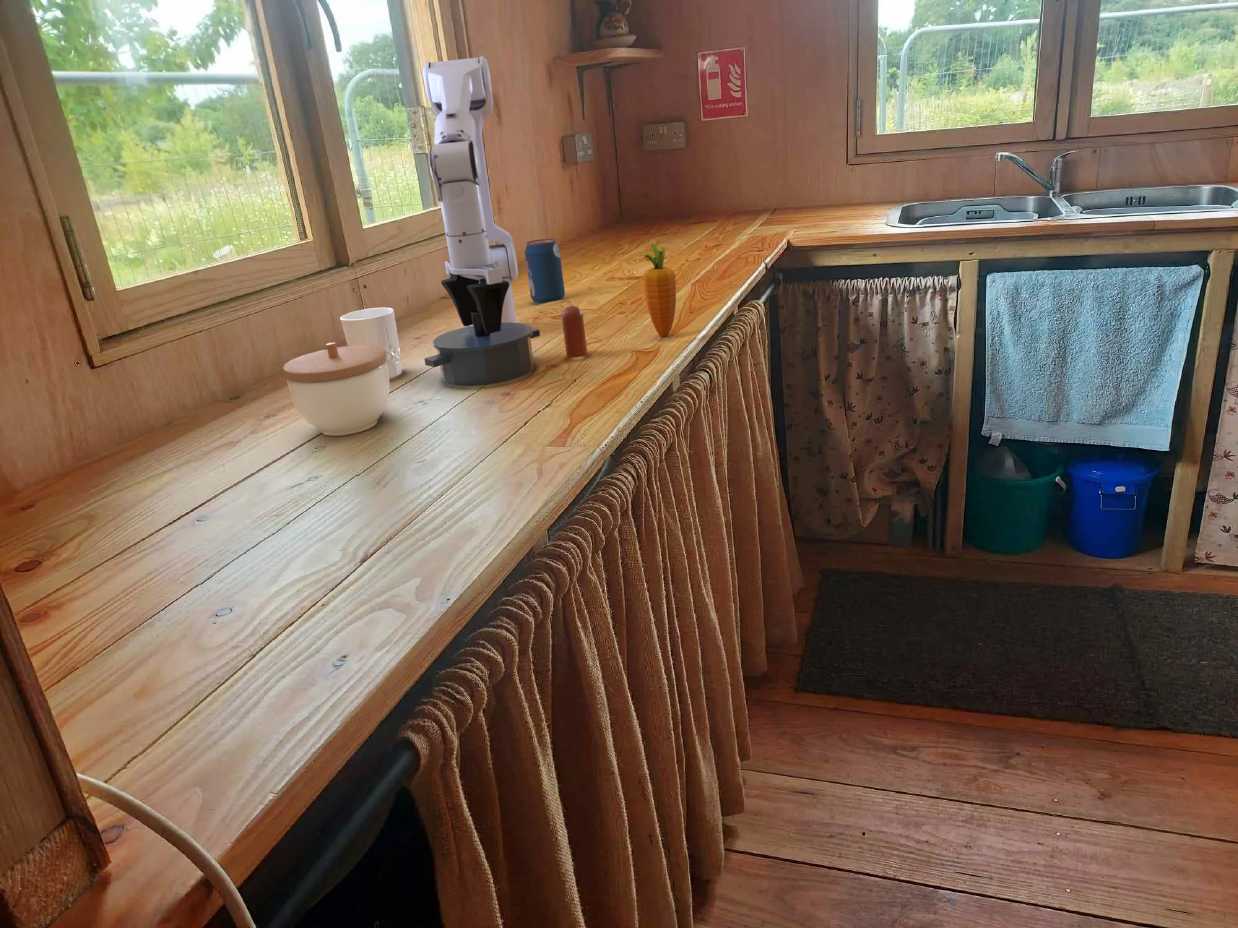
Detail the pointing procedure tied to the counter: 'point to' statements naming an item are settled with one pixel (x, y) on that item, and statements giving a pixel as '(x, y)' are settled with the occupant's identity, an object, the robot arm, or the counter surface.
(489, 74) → the robot arm
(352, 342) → the white cup
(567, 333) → the sausage
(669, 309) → the carrot
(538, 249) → the soda can
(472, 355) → the pot
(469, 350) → the lid
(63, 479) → the counter surface
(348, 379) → the lidded bowl
